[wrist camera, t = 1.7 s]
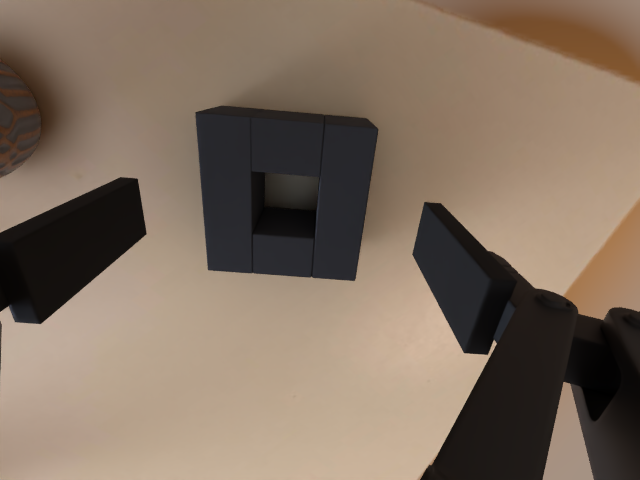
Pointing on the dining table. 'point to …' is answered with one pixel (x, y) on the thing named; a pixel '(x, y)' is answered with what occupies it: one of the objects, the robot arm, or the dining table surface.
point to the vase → (16, 121)
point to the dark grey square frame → (294, 159)
